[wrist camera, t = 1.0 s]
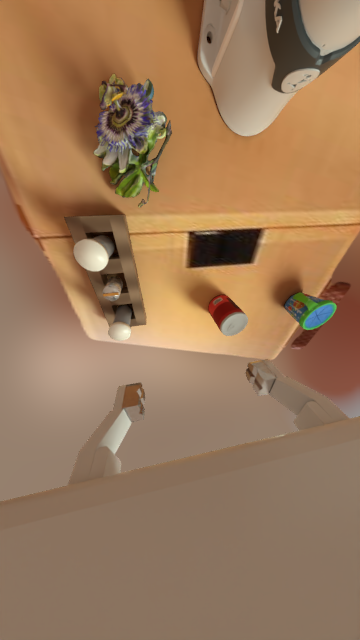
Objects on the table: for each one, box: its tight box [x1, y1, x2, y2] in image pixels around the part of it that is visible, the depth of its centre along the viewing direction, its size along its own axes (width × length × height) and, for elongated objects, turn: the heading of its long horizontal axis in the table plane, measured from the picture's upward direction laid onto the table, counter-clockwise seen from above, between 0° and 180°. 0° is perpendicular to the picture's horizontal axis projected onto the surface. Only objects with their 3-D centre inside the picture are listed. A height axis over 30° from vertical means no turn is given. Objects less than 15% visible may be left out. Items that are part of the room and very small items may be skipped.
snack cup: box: [285, 293, 336, 330], centre depth 49 cm, size 16×10×10 cm
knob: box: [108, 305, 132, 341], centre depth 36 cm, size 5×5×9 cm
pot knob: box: [103, 276, 123, 301], centre depth 32 cm, size 3×3×6 cm
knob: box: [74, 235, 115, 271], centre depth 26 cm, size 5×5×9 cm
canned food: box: [208, 295, 248, 336], centre depth 44 cm, size 8×8×11 cm
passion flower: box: [94, 74, 172, 208], centre depth 23 cm, size 11×11×12 cm
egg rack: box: [64, 215, 146, 327], centre depth 35 cm, size 26×10×4 cm, turn 2°
